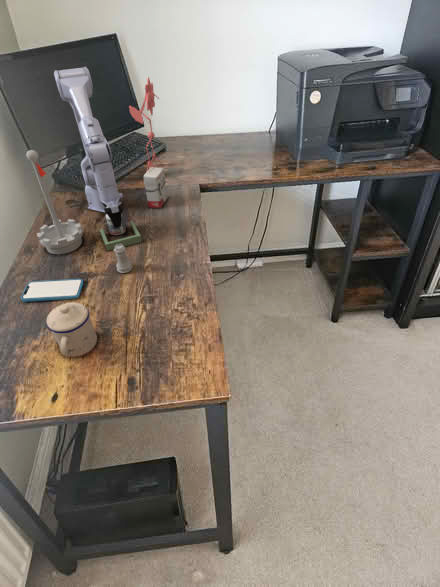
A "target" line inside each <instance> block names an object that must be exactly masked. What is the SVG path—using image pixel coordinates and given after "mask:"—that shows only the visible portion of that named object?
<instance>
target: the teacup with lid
mask: <svg viewBox="0 0 440 587" xmlns="http://www.w3.org/2000/svg"><path fill="white" fill-rule="evenodd" d="M46 327H47V329H48V330H49V331H50V332H51V335H52V337H53V338H54V341H55V343H56V345H57V347H58V349H59V351H60V352H61V354H62V356H64V357H66V358H68V357H72V358H73V357H74V358H75V357H80V356H84V355H86V354H87V353H89V352H90V351H92V350H93V349H94V348H95V346H96V344H97V341H98V336H97V332H96V330H95V327H94V324H93V322H92V319H91V317H90V311H89V308H88V307H87V306H86V305H85V304H82V303H80V302H77V301H75V302H74V301H71V302H65V303H62V304H59V305H58V306H56V307H55V308H53V309H52V310H51V311H50V312H49V314H48V315H47V317H46Z"/></svg>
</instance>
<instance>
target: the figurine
mask: <svg viewBox="0 0 440 587" xmlns="http://www.w3.org/2000/svg"><path fill="white" fill-rule="evenodd" d="M144 91H145V92H144V98H143V102H142V105H141V108H140V110H138V109H137V108H136V107H135V106H132V105H129V106H128V110H129V113H130V115H131V117H132V118H133V119H134V121H135V122H138V123H139V124H141V125H144V118H143V116H144V117H145V118H146V119H147V120H148V121H149V122H148V123H149V128H150V131H149V132H147V138H148V139H149V140H148V141H147V144H146V145H145V149H146V153H147V158H148V161H147V169H146V172H147V171H148V170H149V169H150V167H156V166H155V165H154V164H153V161H154V159H156V160H157V161H158V162H159V164H161V165H163V163H162V162H161V161H160V160H159V158H158V157H157V156H156V154H155V150H154V146H153V143H152V140H153V139H154V138H155V133H154V132H153V128H152V121H151V118H150V117H148V116H147V115H146V114H145V113H144V110H145V105H146V111H148V112H149V113H150V115H151V116H153V115H154V114H153V113H154V108H155V106H156V102H155V97H156V98H157V100H160V98H159V97H158V95H156V94H155V92H154V84H153V82H151V79H150V77H149V76H148V77H147V79H146V83H145V84H144ZM149 144H150V146H151V149H152V152H153V153H151V154H152V157H151V159H150V154H149V150H148V146H149ZM172 162H173V163H175V161H174V160H173V161H172ZM176 164H177V165H179V162H178V163H177V162H176ZM181 170H182V168H180V169H179V171H178V173H180V172H181ZM146 172H145V173H146ZM178 173H177V174H175V176H177V175H178ZM139 182H140V183H143V181H142V180H141V181H139Z"/></svg>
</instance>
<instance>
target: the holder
mask: <svg viewBox="0 0 440 587" xmlns="http://www.w3.org/2000/svg"><path fill="white" fill-rule="evenodd" d="M129 224H130V229H131V231H132V232H133V234H134V235H130V236H126V237H123V238H119V239H114V240H111V241H108V237H107V235H106V234H105V231H104V229H103V227H102V228H99V231H100V236H101V238H102V241H103V243H104V246H105V249H106V251H107V252H109V251H112V250H113V251H114V248H115V247H114V246H116V245H117V244H118V245H120V244H121V245H122V244H123V245H124V247H128V246H131V245H135V244H139V243H142V242H143V240H142V235H141V234H140V232H139V230H138V228H137V227H136V224H135V222H134V220H130V221H129Z"/></svg>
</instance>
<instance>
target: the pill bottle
mask: <svg viewBox="0 0 440 587" xmlns="http://www.w3.org/2000/svg"><path fill="white" fill-rule="evenodd" d="M106 208H109V207H108V206H107V207H106ZM105 219H106V223H107V227H108V231H109V233H110V235H113V236H120V235H123V234H124V233H126V230H127V229H126V227H127V226H126V224H125V219H124V215H123V214H122V215H121V227H117V228H115V227H114V226H113V224H112V221H111V219H110V217H109V216H108V215H107V214H106V213H105Z"/></svg>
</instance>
